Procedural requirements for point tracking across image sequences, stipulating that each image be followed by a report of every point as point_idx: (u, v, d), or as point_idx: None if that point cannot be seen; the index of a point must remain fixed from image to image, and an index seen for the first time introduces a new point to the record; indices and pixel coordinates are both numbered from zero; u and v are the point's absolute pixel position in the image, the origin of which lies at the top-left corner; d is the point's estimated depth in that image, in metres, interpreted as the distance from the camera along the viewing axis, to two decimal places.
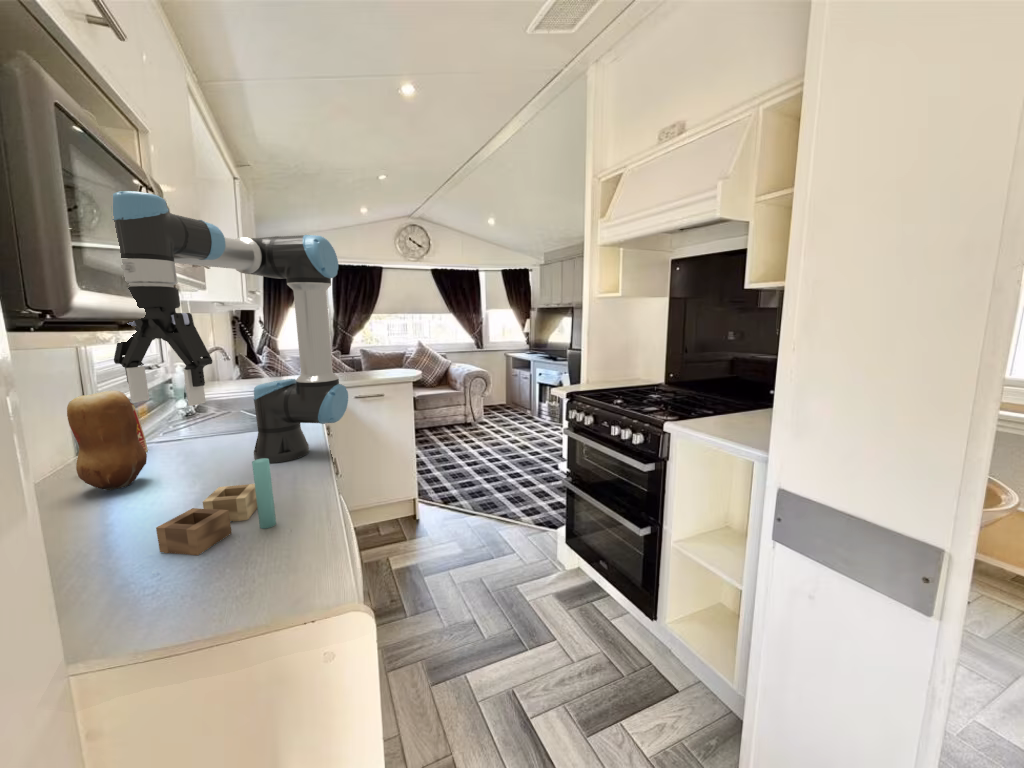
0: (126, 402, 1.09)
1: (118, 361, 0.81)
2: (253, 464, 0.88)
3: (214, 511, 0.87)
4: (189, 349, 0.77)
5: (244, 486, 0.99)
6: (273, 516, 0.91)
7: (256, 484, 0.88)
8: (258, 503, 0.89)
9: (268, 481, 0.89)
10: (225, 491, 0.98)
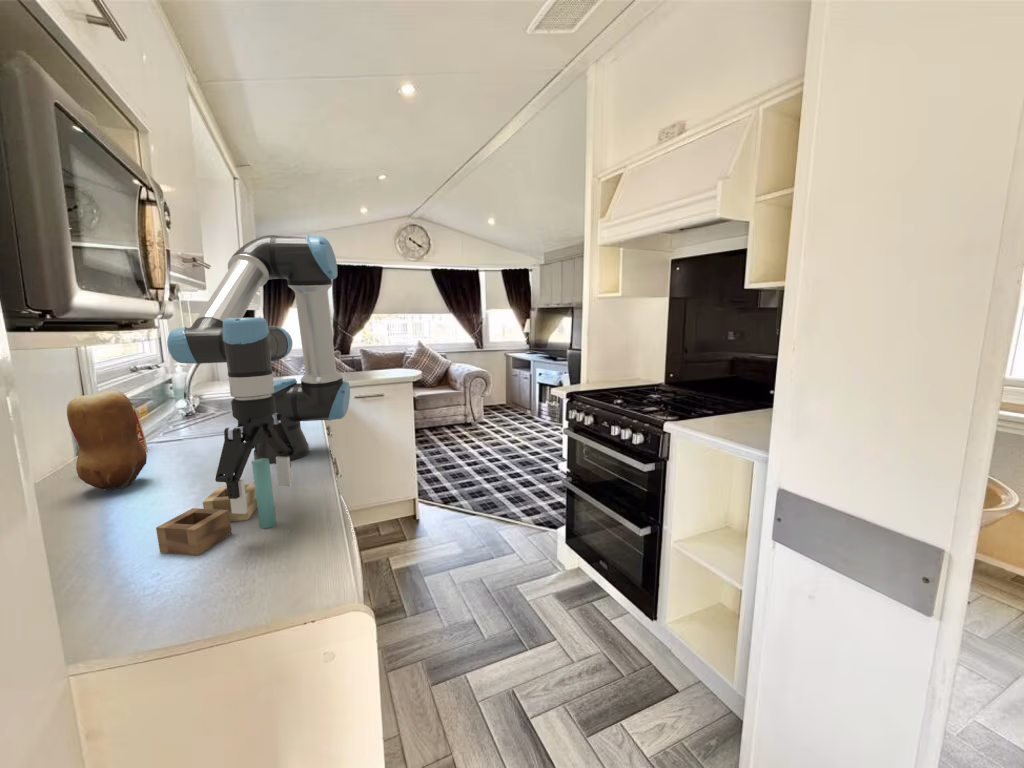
0: (126, 402, 1.09)
1: None
2: (253, 464, 0.88)
3: (214, 511, 0.87)
4: None
5: None
6: (273, 516, 0.91)
7: (256, 484, 0.88)
8: (258, 503, 0.89)
9: (268, 481, 0.89)
10: (225, 491, 0.98)
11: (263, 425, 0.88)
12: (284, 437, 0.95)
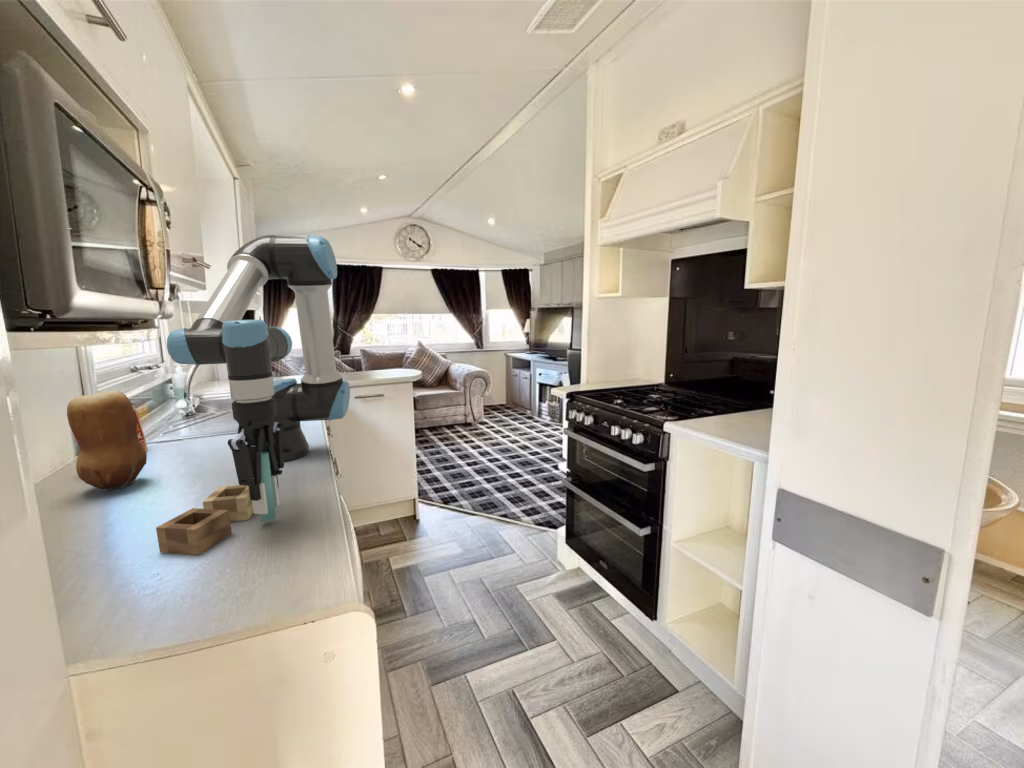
0: (126, 402, 1.09)
1: None
2: None
3: (214, 511, 0.87)
4: None
5: (244, 486, 0.99)
6: (273, 509, 0.91)
7: None
8: None
9: (268, 475, 0.89)
10: (225, 491, 0.98)
11: (265, 425, 0.89)
12: (276, 449, 0.93)
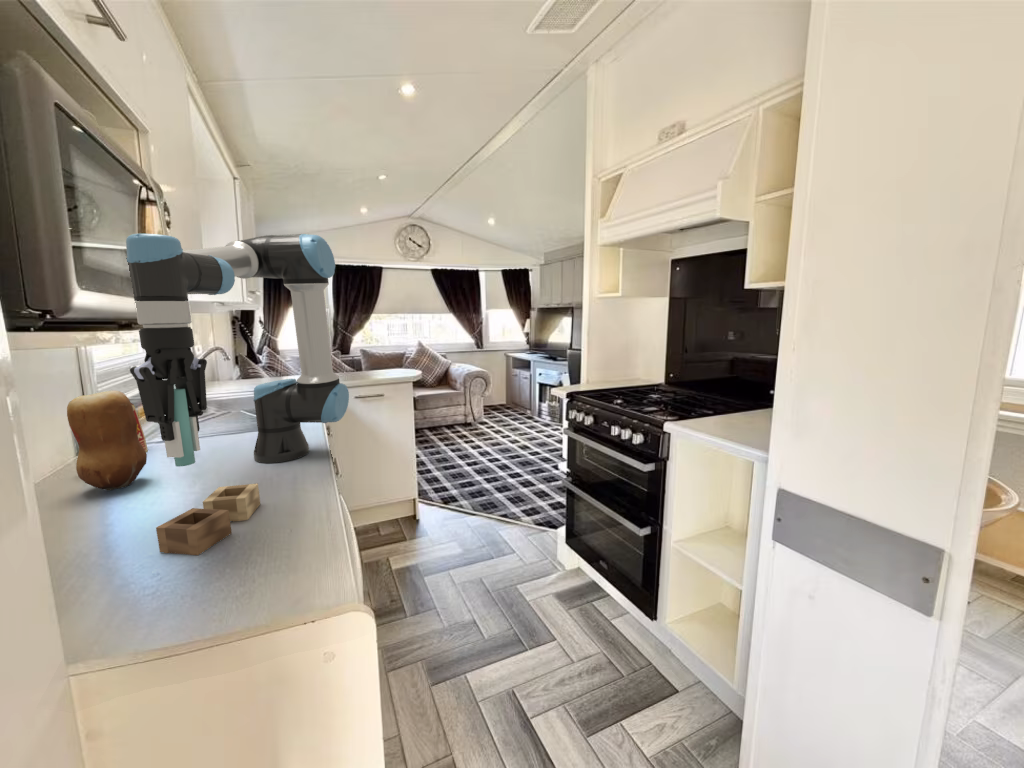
0: (126, 402, 1.09)
1: None
2: None
3: (214, 511, 0.87)
4: None
5: (244, 486, 0.99)
6: (191, 453, 0.81)
7: None
8: None
9: (184, 413, 0.80)
10: (225, 491, 0.98)
11: (180, 357, 0.79)
12: (197, 388, 0.84)
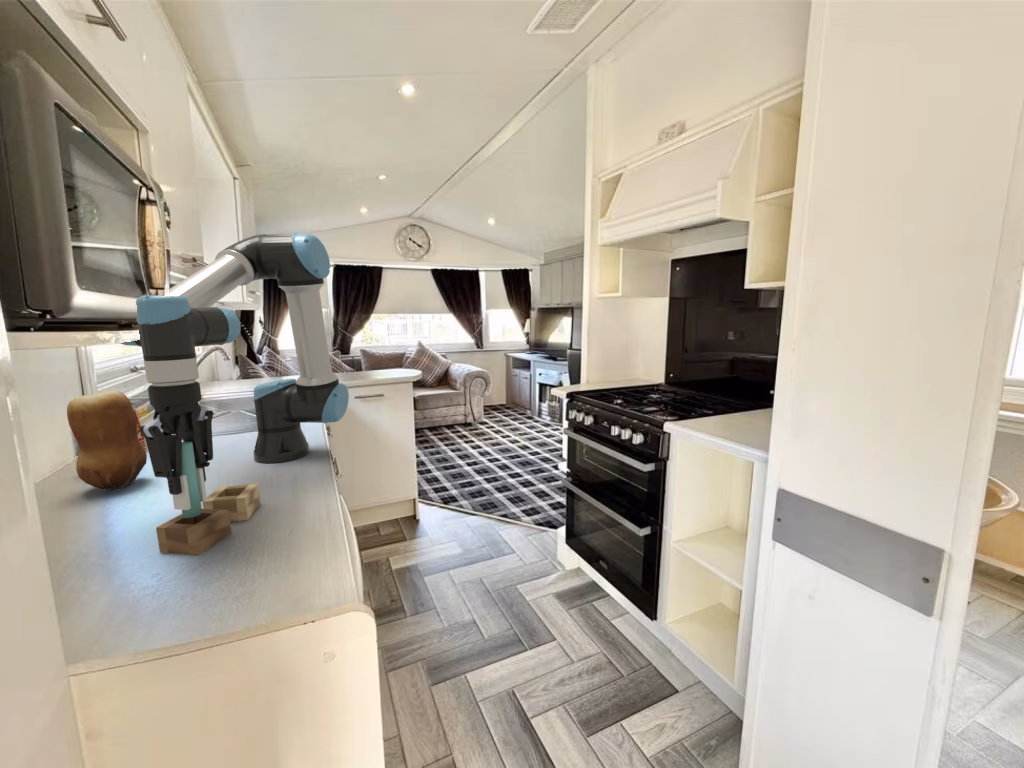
0: (126, 402, 1.09)
1: None
2: None
3: (214, 511, 0.87)
4: None
5: (244, 486, 0.99)
6: (197, 505, 0.83)
7: None
8: None
9: (191, 466, 0.82)
10: (225, 491, 0.98)
11: (187, 412, 0.81)
12: (204, 439, 0.85)
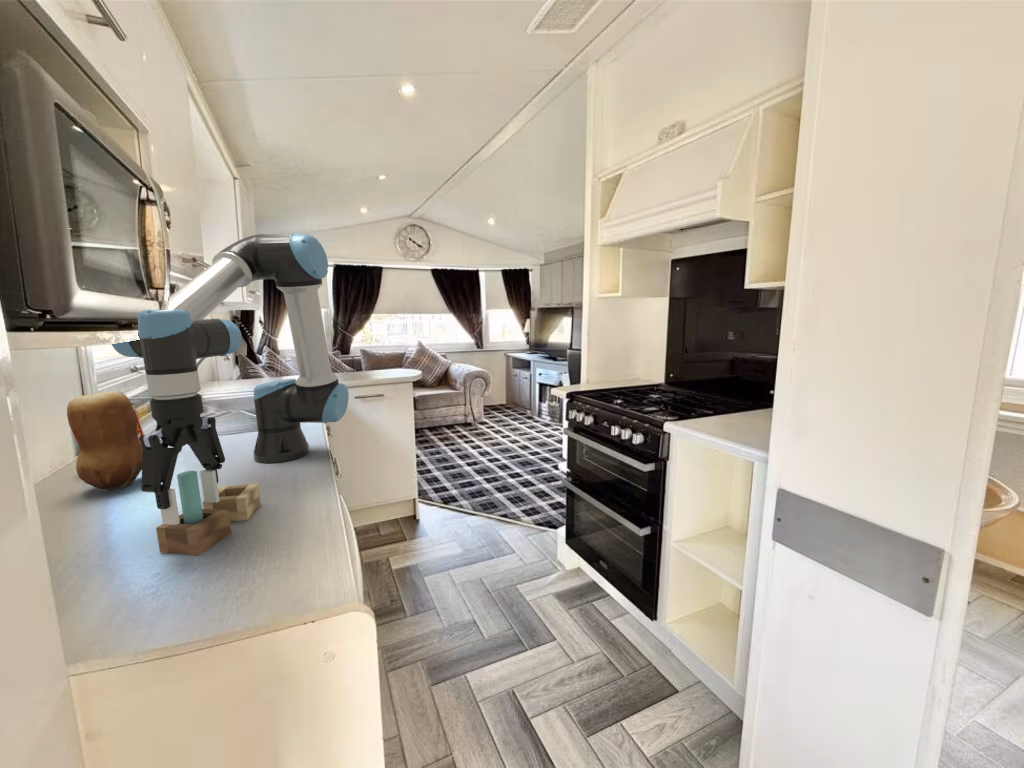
0: (126, 402, 1.09)
1: None
2: (178, 477, 0.81)
3: (214, 511, 0.87)
4: None
5: (244, 486, 0.99)
6: None
7: (182, 499, 0.82)
8: (184, 519, 0.82)
9: (196, 496, 0.83)
10: (225, 491, 0.98)
11: (188, 425, 0.81)
12: (212, 445, 0.87)
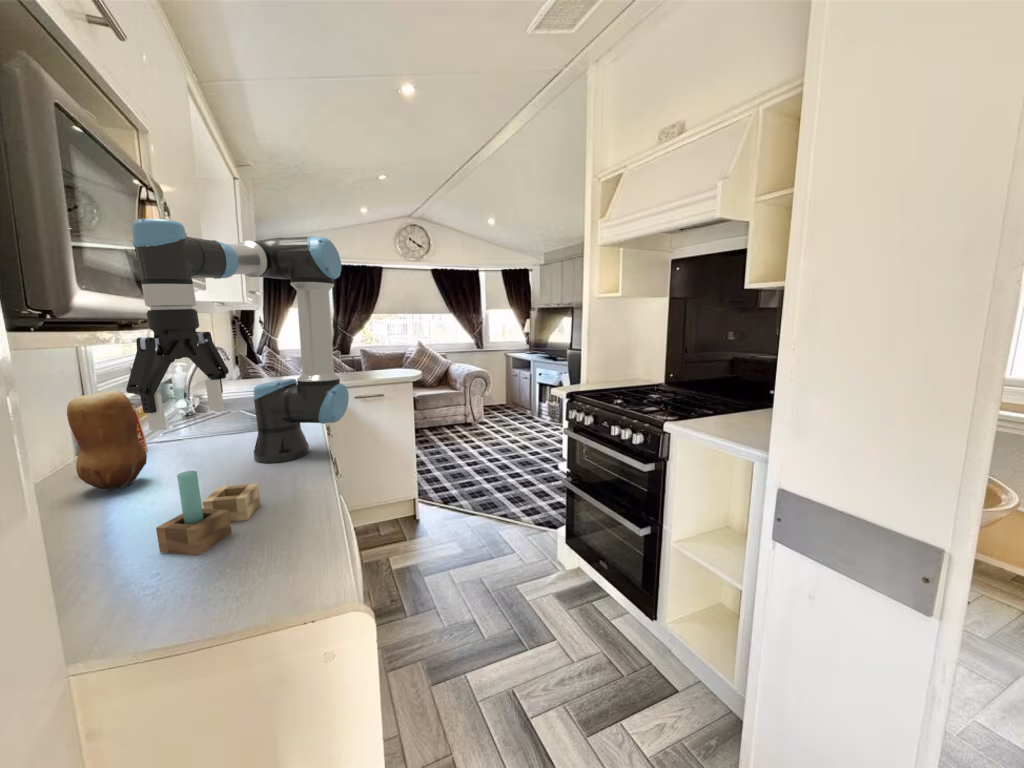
0: (126, 402, 1.09)
1: None
2: (178, 477, 0.81)
3: (214, 511, 0.87)
4: None
5: (244, 486, 0.99)
6: None
7: (182, 499, 0.82)
8: (184, 519, 0.82)
9: (196, 496, 0.83)
10: (225, 491, 0.98)
11: (185, 340, 0.83)
12: (214, 358, 0.90)
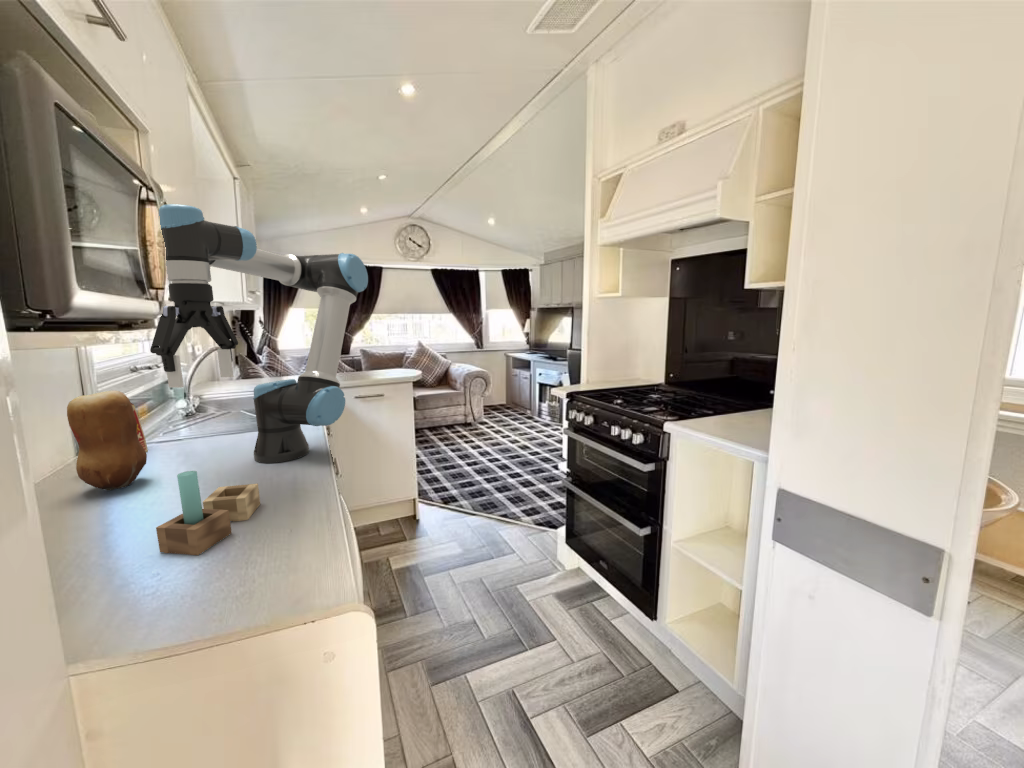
0: (126, 402, 1.09)
1: None
2: (178, 477, 0.81)
3: (214, 511, 0.87)
4: None
5: (244, 486, 0.99)
6: None
7: (182, 499, 0.82)
8: (184, 519, 0.82)
9: (196, 496, 0.83)
10: (225, 491, 0.98)
11: (201, 311, 0.94)
12: (225, 330, 1.02)
